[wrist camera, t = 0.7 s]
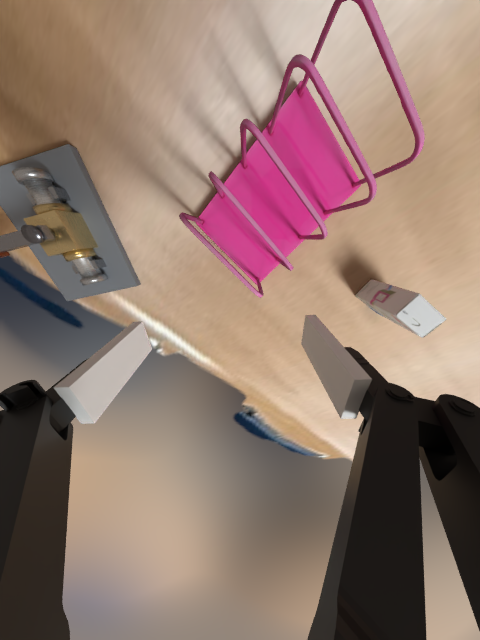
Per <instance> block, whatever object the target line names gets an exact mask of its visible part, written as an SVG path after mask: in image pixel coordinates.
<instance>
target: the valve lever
mask: <svg viewBox="0 0 480 640" xmlns="http://www.w3.org/2000/svg"><path fill="white" fill-rule="evenodd" d="M55 239H56V235H55V233H54V232H53V231H52V230H51V229H49V228H48V227H47V225H38V226H34V225H23V226H22V227H21V230H19V231H16V232H12V233H9V234H5V235H1V236H0V258H1V257H5V256H9V255H10V254H9V253H8V252H7V251H11V250H15V249H19V248H23V247H26V246H30V245H34V244H38V243H43V242H45V241H54V240H55Z"/></svg>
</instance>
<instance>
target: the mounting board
mask: <svg viewBox="0 0 480 640" xmlns="http://www.w3.org/2000/svg"><path fill="white" fill-rule="evenodd" d="M22 167H33V168H40V169H44V170H46V171H48V172H50V173H51V175H52V177H53V179H54V181H55V183H54V184H53V186H54V187H58V188H61V189H65V190H66V191H67V193H68V195H69V197H70V199H71V200H70V201H67V202H63V204H67V205H69V206H70V207H71V209H72V211H73V212H74V213H81V215H82V217H83V219H84V221H85V223H86V224H87V226H88V228H89V230H90V232H91V234H92V236H93V238H94V240H95V241H96V243H97V245H98V247H97V248H93V249H94V251H95V253H96V255H97V256H94V259H95V260H99V259H103V260H104V262H105V264H106V266H107V267H103V268H100V270H101V272H102V273H103V274H104V273H106V275H107V277H108V279H107V280H104V281H100V282H97V283H93V284H89V285H84V286H83V285H82V283H81V282H80V279H82V278H81V276H80V275H79V273H77V274H76V273H75V272H74V270H73V269H72V267H71V266H73V263H72V262H71V261H70V262H66V260H65V259H64V257H63V255H56V256H48V255H47V254H46V252H45V251H44V249H43V248H42V246H41V245H40V243H38V244H34V245H30V246H29V247H30V249H31V250H32V252H33V253H34V254H35V256H36V257H37V259H38V260H39V262H40V263H41V265H42V266H43V267H44V269H45V270H46V272H47V273H48V275H49V276H50V277H51V279H52V280H53V282H54V283H55V285H56V286H57V287H58V289H59V290H60V292H61V293H62V295H63V296H64V297H65V299H66V300H67V301H70V300H75V299H79V298H84V297H89V296H93V295H98V294H102V293H107V292H112V291H116V290H121V289H125V288H130V287H134V286H138V285H140V284H141V283H140V281H139V279H138V277H137V275H136V273H135V271H134V269H133V267H132V264H131V262H130V260H129V258H128V256H127V254H126V252H125V250H124V248H123V245H122V243H121V241H120V239H119V237H118V235H117V233H116V231H115V229H114V226H113V224H112V222H111V220H110V218H109V216H108V214H107V212H106V210H105V207H104V205H103V203H102V201H101V199H100V197H99V195H98V193H97V191H96V188H95V186H94V184H93V182H92V180H91V178H90V176H89V174H88V172H87V169H86V167H85V165H84V163H83V161H82V159H81V157H80V155H79V153H78V150H77V148H75V147H73V146H71V145H69V144H67V145H64V146H61V147H58V148H55V149H52V150H49V151H46V152H43V153H40V154H37V155H33V156H30V157H27V158H24V159H21V160H18V161H15V162H12V163H9V164H6V165H3V166H0V206H1V207H2V209H3V210H4V212H5V213H6V214H7V216H8V217H9V219H10V220H11V222H12V223H13V224H14V226H15V227H16V229H17V230H18V231H19V230H21V227H22V226H23V225H27V224H26V222H25V221H24V218H28V217H31V216H35V215H37V214H36V213H35V211H34V210H33V207H34V206H35V205H32V203H31V202H30V200H29V198H28V197H27V195H26V194H28V193H29V192H28V190H27V189H26V187H25V186H24V185H21V184H19V183H18V181H17V180H16V178H15V177H14V175H13V173H12V170H14V169H16V168H22Z"/></svg>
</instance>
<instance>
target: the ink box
mask: <svg viewBox="0 0 480 640" xmlns="http://www.w3.org/2000/svg"><path fill="white" fill-rule="evenodd" d="M356 297H357V298H358V299H360V300H361V301H362V302H363V303H365V304H366V305H367V306H369V307H370V308H371V309H372V310H374V311H375V312H376V313H378V314H380V315H382V316H383V317H385V318H387V319H389V320H391V321H393V322H394V323H396V324H398V325H400V326H402V327H403V328H405V329H407V330H409V331H411V332H413V333H414V334H416V335H418V336H420V337H425V336H426V335H428V334H429V333H430V332H432V331H433V330H434V329H435V328H437V327H438V326H439V325H440V324H442V323H443V322H444V321H445V320H446V318H445V317H444V316H443V315H442V314H441V313H439V312H438V311H437V310H436V309H435V308H434V307H433V306H432V305H431V304H430V303H429V302H428V301H427V300H426V299H425V298H424V297H423V296H421V295H420V294H419V293H415V292H412V291H409V290H405V289H402V288H399V287H396V286H392V285H389V284H386V283H383V282H379V281H376V280H373V279H371V280H370V281H369V282H368V283H367V284H366V285H365V286H364V287H363V288H362V289H361V290H360V291H359V292H358V293H357V294H356Z"/></svg>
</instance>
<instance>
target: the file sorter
mask: <svg viewBox="0 0 480 640" xmlns="http://www.w3.org/2000/svg"><path fill="white" fill-rule="evenodd" d="M344 1H347V0H335V2H334V4H333V6H332V8H331V11H330V13H329V16H328V18H327V21H326V23H325V26H324V28H323V30H322V33H321V35H320V38H319V41H318V43H317V46H316V48H315V51H314V53H313V56H312V58H311V61H310V60H309V59H308V58H307V57H306V56H303V55H296V56H294V57H293V58H292V60H291V61H290V63H289V64H288V66H287V69H286V72H285V75H284V78H283V82H282V85H281V89H280V92H279V96H278V100H277V103H276V107H275V111H274V114H273V118H272V120H271V121H270V122H269V124H268V125H267V126H266V128H265V129H264V130H263V132H262V133H261V132H260V130H259V129H258V128H257V127H256V126H255V125H254V124H253V123H252V122H251V121H250V120H248V119H244V120H243V121H242V123H241V125H240V133H241V150H242V160H241V161H240V162H239V164H238V165H237V166H236V168H235V169H234V171H233V172H232V173H231V174H230V176H229V177H228V179H227V180H226V181H225V183H224V184H223V183H222V182H221V180H220V179H219V178H218V177H217V176H216V175H215V174H214V173H213V172H210V173H209V175H208V176H209V178H210V180H211V181H212V183H213V185H214V186H215V188H216V190H217V191H218V192H217V193H216V194H215V196H214V197H213V199H212V200H211V201H210V203H209V204H208V205H207V207H206V208H205V209H204V211H203V212H202V213H201V215H200V216H199V217H198V218H196V217H193V216H191V215H188V214H186V213H181V214H180V215H179V217H180V219H181V220H182V222H183V223H184V224H185V225H186V226H187V227H188V228H189V229H190V231H191V232H192V233H193V234H194V235H195V236H196V237H197V238H198V239H199V240H200V241H201V242H202V243H203V244H204V245H205V246H206V247H207V248H208V249H209V250H210V251H211V252H212V253H214V254H215V255H216V257H217V258H218V259H219V260H220V261H221V262H222V263H224V264H225V265H226V266H227V267H228V268H229V269H230V270H231V271H232V272H233V273H234V274H235V275H236V276H237V277H238V278H239V279H240V280H241V281H242V282H243V283H244V284H245V285H246V286H247V287H248V288H249V289H250V290H251V291H252V292H253V293H254V294H255V295H257V296H258V297H262V296H263V290H262V287H261V284H260V282H261V281H262V280H263V279H264V278H265V277H266V276H267V275H268V274H269V273H270V272H271V271H272V270H273V269H274V268H275V267H276V266H278V265H279V264H280V263H281V264H282V265H283V266H285V267H286V268H287V269H289V270H290V271H291V270H292V269H293V267H292V265H291V264H290V262H289V261H288V260H287V258H286V257H287V256H288V255H289V254H290V253H291V252H292V251H293V250H294V249H295V248H296V247H297V246H298V245H299V244H300V243H301V242H303V241H304V240H305V239H324V238H325V237H326V236H327V229H326V226H325V224H324V222H323V221H325V220H326V219H327V218H328V217H329V216H330V215H331V214H332V213H334V212H338V211H342V210H346V209H350V208H354V207H358V206H362V205H365V204H367V203H369V202H370V201H371V200H372V199H373V198H374V197H375V195H376V190H377V185H376V181H375V178H378V177H380V176H382V175H385V174H387V173H390V172H392V171H394V170H397V169H399V168H401V167H404V166H406V165H407V164H409V163H411V162H412V161H413V160H414V159H415V158H416V157H417V156H418V155H419V154H420V152H421V150H422V148H423V145H424V139H425V138H424V130H423V126H422V123H421V121H420V118H419V115H418V113H417V110H416V108H415V105H414V103H413V100H412V98H411V95H410V93H409V90H408V88H407V85H406V82H405V80H404V77H403V75H402V72H401V70H400V68H399V65H398V62H397V60H396V57H395V55H394V52H393V50H392V47H391V45H390V42H389V40H388V37H387V35H386V33H385V30H384V28H383V25H382V23H381V20H380V18H379V15H378V13H377V10H376V8H375V6H374V3H373V1H372V0H352V1H354V2H356V3H357V4H358V5H359V7H360V8H361V10H362V12H363V14H364V16H365V19H366V21H367V23H368V25H369V27H370V29H371V32H372V35H373V37H374V40H375V42H376V44H377V47H378V49H379V52H380V54H381V56H382V59H383V61H384V63H385V65H386V68H387V71H388V72H389V74H390V77H391V79H392V81H393V83H394V86H395V88H396V91H397V93H398V96H399V98H400V100H401V104H402V107H403V109H404V111H405V114H406V116H407V118H408V121H409V123H410V126H411V128H412V130H413V133H414V136H415V149H414V152H413V154H412V155H411V157H409V158H408V159H406V160H404V161H402V162H399V163H397V164H395V165H393V166H391V167H389V168H386V169H384V170H382V171H380V172H377V173H375V174H372V172H371V170H370V168H369V166H368V164H367V162H366V160H365V158H364V157H363V155H362V153H361V151H360V149H359V147H358V145H357V143H356V141H355V139H354V137H353V136H352V134H351V132H350V130H349V128H348V126H347V124H346V122H345V120H344V118H343V117H342V115H341V113H340V111H339V109H338V107H337V105H336V103H335V102H334V100H333V98H332V96H331V94H330V92H329V90H328V88H327V87H326V85H325V83H324V81H323V79H322V77H321V76H320V74H319V72H318V71H317V69H316V67H315V66H314V64H315V62H316V60H317V58H318V55H319V53H320V50H321V48H322V46H323V43H324V41H325V39H326V36H327V34H328V32H329V29H330V27H331V25H332V22H333V20H334V18H335V15H336V13H337V11H338V9H339V7H340V5H341V3H342V2H344ZM295 67H299V68H301V69H303V70H304V71H305V72H306V74H305V77H304V79H303V81H300V82H299V84H298V85H297V86H296V88H295V89H294V90H293V92H292V93H291V94H290V96H289V97H288V98H287V100H286V101H285V102H284V104H283V105H282V106H281V104H282V101H283V98H284V94H285V91H286V88H287V85H288V82H289V79H290V76H291V73H292V70H293V68H295ZM309 78H310V79H311V81H312V82H313V84H314V86H315V88H316V89H317V92H318V94H320V96H321V98H322V100H323V102H324V104H325V106H326V107H327V109H328V111H329V113H330V115H331V117H332V119H333V120H334V122H335V124H336V126H337V127H338V129H339V131H340V133H341V134H342V136H343V138H344V140H345V142H346V144H347V146H348V147H349V149H350V151H351V153H352V155H353V157H354V158H355V160H356V162H357V164H358V165H359V167H360V170H361V172H362V174H363V175H364V177H365V178H364V179H362V180H359V179H358V177H357V175H356V173H355V172H354V170H353V168H352V166H351V165H350V163H349V161H348V159H347V157H346V156H345V154H344V152H343V150H342V149H341V147H340V145H339V143H338V142H337V140H336V138H335V136H334V134H333V133H332V131H331V129H330V128H329V126H328V124H327V122H326V120H325V119H324V117H323V115H322V113H321V112H320V110H319V108H318V106H317V105H316V103H315V101H314V99H313V97H312V96H311V94H310V92H309V90H308V88H307V87H306V84H307V81H308V79H309ZM280 107H281V108H280ZM246 129H248V130H249V131H250V132H251V133H252V134H253V135H254V136H255V137H256V139H257V140H256V141H255V142H254V144H253V145H252V146H251V148H250V149H249V150H248V152H247V153H246ZM365 182H367V183H368V186H369V191H370V192H369V197H368V198H366V199H364V200H361V201H357V202H354V203H350V204H347V205H343V206H340V205H341V204H342V203H343V202H344V201H345V200H346V199H347V198H349V197H350V196H351V195H352V194H353V193H354V192H355V191H356V190H357V189H358V188H359V187H360V186H361V184H363V183H365ZM339 206H340V207H339ZM187 219H188V220H191V221H195V222H196V224H197V225H198V226H199V227H200V228H201V229H202V230H203V231H204V232H205V233H206V234H207V235H208V236H209V237H210V238H211V239H212V240H213V241H214V242H215V243H216V244H217V245H218V246H219V247H220V248H221V249H222V250H223V251H224V252H225V253H226V254H227V255H228V256H229V257H230V258H231V259H232V261H233V262H234V263H235V264H236V265H237V266H238V267H239V268H240V269H241V270H242V271H243V272H244V273H245V274H246V275H247V276H248V277H249V278H250V279H251V280H252V281H253V282H254V283H255V284H257V285H258V289H259V292H258V291H257V290H256V289H255V288H254V287H253V286H252V285H251V284H250V283H249V282H248V281H247V280H246V279H245V278H244V277H243V276H242V275H241V274H240V273H239V272H238V271H237V270H236V269H235V268H234V267H233V266H232V265H231V264H230V263H229V262H228V261H227V260H226V259H225V258H224V257H223V256H222V255H221V254H220V253H219V252H218V251H217V250H216V249H215V248H214V247H213V246H212V245H211V244H210V243H209V242H208V241H207V240H206V239H205V238H204V237H203V236H202V235H201V234H200V233H199V232H198V231H197V230H196V229H195V228H194V227H193V226H192V225H191V224H190V222H189V221H188V220H187ZM318 226H319V227H320V229H321V232H322V234H318V235H310V234H311V233H312V232H313V231H314V230H315V229H316V228H317V227H318Z"/></svg>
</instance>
